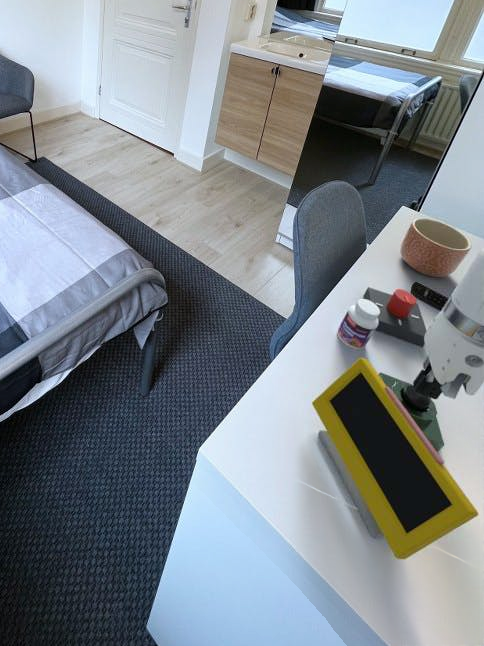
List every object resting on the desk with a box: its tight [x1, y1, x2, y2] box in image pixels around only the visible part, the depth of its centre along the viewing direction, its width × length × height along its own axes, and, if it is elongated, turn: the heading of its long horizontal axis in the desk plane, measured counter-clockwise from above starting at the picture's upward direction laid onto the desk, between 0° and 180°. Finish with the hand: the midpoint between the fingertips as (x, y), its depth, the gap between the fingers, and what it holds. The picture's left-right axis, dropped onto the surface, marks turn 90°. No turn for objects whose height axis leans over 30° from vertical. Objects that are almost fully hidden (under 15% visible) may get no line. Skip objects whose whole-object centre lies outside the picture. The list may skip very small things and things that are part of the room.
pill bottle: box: [336, 298, 380, 350], centre depth 86 cm, size 5×5×10 cm
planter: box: [399, 217, 473, 278], centre depth 108 cm, size 12×12×11 cm
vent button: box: [402, 384, 430, 412], centre depth 73 cm, size 4×4×2 cm
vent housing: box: [377, 371, 445, 453], centre depth 74 cm, size 10×8×4 cm
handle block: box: [362, 286, 427, 348], centre depth 93 cm, size 10×10×3 cm
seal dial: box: [387, 288, 418, 318], centre depth 91 cm, size 4×4×5 cm
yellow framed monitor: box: [311, 357, 479, 560], centre depth 62 cm, size 20×8×16 cm, turn 5°
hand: (424, 391), depth 72 cm, fingers closed
